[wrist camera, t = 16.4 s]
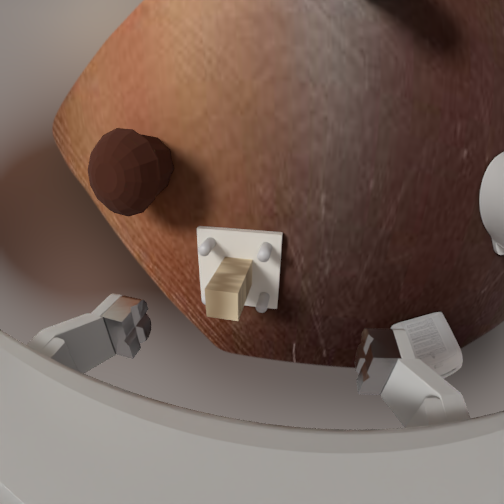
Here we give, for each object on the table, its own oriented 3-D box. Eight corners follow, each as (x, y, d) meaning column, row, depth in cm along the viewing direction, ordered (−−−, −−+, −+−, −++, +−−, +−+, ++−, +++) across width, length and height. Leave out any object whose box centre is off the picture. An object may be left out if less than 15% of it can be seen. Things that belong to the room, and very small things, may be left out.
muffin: (195, 181, 38) (162, 199, 30) (140, 215, 42) (102, 238, 33) (157, 111, 35) (115, 110, 26) (106, 152, 39) (62, 162, 30)
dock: (282, 232, 39) (279, 243, 36) (277, 305, 44) (274, 320, 40) (199, 225, 41) (188, 235, 37) (203, 296, 46) (195, 310, 42)
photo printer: (389, 341, 43) (402, 396, 32) (387, 323, 42) (403, 378, 31) (442, 326, 40) (465, 376, 29) (443, 307, 39) (470, 357, 28)
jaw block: (252, 259, 41) (237, 293, 32) (251, 284, 42) (238, 321, 34) (224, 256, 41) (204, 289, 33) (225, 281, 43) (206, 316, 35)
